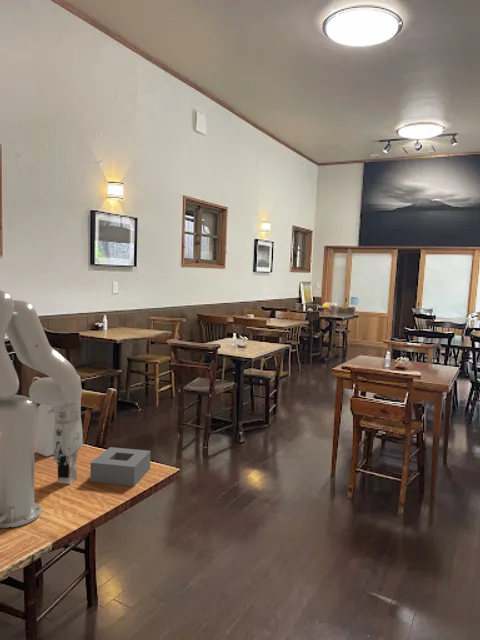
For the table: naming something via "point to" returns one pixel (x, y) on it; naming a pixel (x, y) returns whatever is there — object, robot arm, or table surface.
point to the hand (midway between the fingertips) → (67, 473)
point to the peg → (70, 469)
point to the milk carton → (45, 430)
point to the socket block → (120, 466)
